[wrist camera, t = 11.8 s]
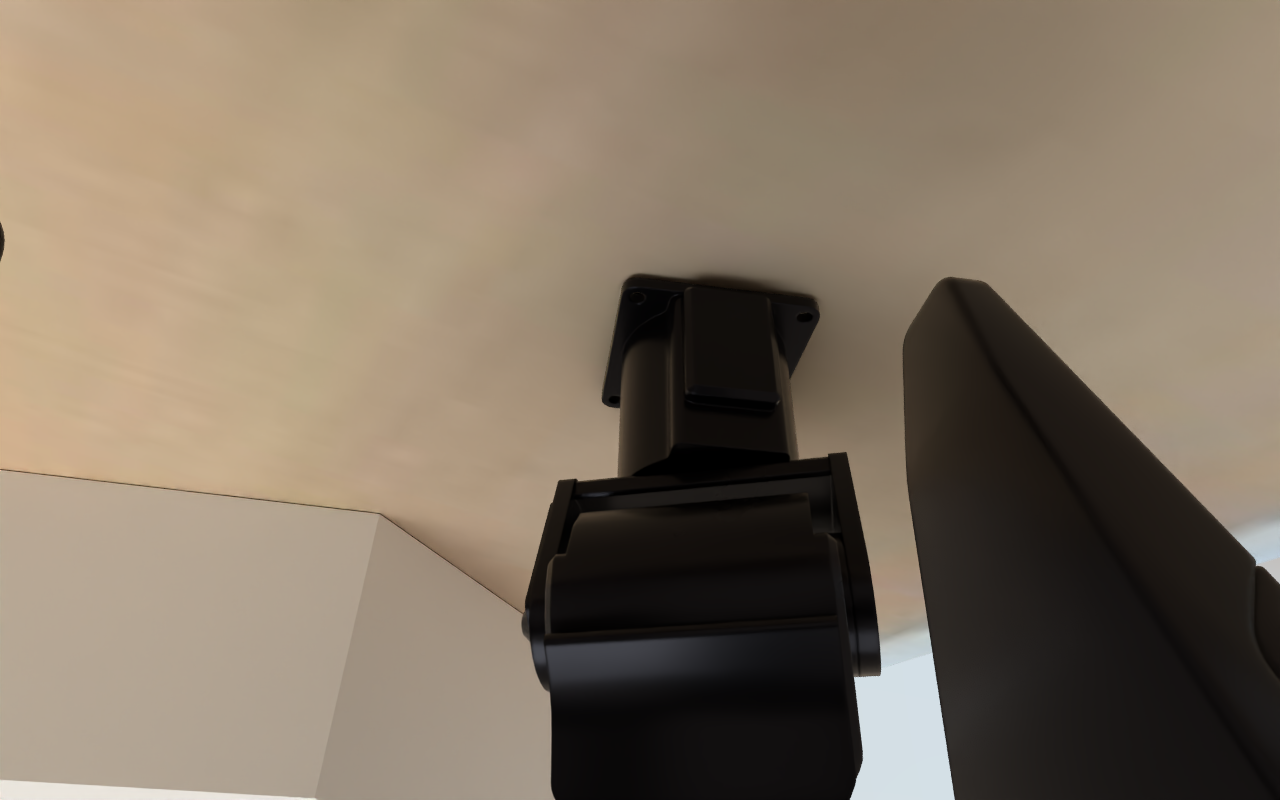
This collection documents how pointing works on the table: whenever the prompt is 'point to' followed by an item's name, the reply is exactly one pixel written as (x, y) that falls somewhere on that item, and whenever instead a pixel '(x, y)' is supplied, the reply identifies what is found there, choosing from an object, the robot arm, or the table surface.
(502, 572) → the table surface
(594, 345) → the table surface
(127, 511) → the block
